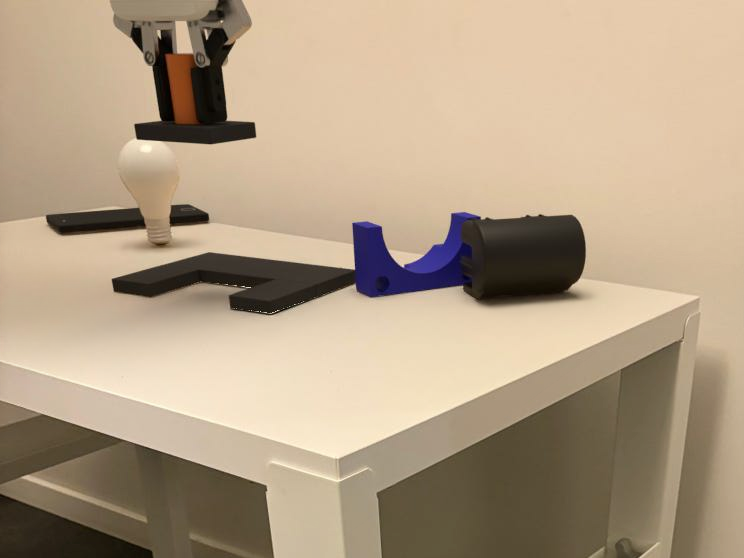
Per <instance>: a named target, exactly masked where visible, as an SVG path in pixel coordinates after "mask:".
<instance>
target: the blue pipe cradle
mask: <svg viewBox="0 0 744 558" xmlns="http://www.w3.org/2000/svg"><path fill="white" fill-rule="evenodd" d="M473 218H475V219H477V220H480V219H482V217H481V216H480V215H477V214H473V213H470V212H466V211H459V212H451V214H450V222H449V223H450V224H449V229H448V232H447V235H446V237H445V238H446V239H445V240H444V242H443V243H437V244H433V245H432V246H431V247H430V249H429V250H428V251H427V252H426V253H425V254H424V255H423V256H421V257H420V258H418V259H416V260H414V261H412V262H408V263H405V264H403V266H402V265H400V264H399V263H398V262H397V261H396V260H395V259H394V257H393V256H392V254H391V253H390V252H389V250H388V247H387V244H386V241H385V239H384V234H383V233H384V232H383V226H382V225H379V224H375V223H373V222H370V221H368V220H366V221H356V222H352V225H351V227H352V243H353V261H354V270H355V279H356V283H355V291H356V290H357V291H356V292H358V291H359V292H358V293H360V292H361V293H360V294H362V293H363V294H362V295H364V294H365V296H367V297H369V296H370V297H369V298H373V297H372V296H376V297H380V296H379V295H384V296H389V295H388V294H391V295H397V294H396V293H398V294H404V293H403V292H406V293H413V292H421V291H428V290H434V289H443V288H450V287H456V286H463V283H464V282H472V278H470V277H468V276H467V275H465V274H464V273H463V272H462V269H461V263H460V260H461V256H464V255H465V256H467V257H469V258H471V259H472V248H471V246H470V245H468V244H466V243H464V242H462V241H461V237H460V234H461V226H462V224H463V222H465V221H467V220H472V219H473Z"/></svg>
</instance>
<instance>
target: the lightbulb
mask: <svg viewBox="0 0 744 558" xmlns="http://www.w3.org/2000/svg"><path fill="white" fill-rule="evenodd" d="M117 171H118V175H119V178H120V180H121V182H122V184H123V185H124V187H125V188H126V190H127V191H128V192H129V194H130V195H131V196H132V197H133V199H134V200H135V202H136V204H137V208H139V210H140V212H141V214H142V216H143V217H144V221H145V224H146V226H145V229H146V233H147V234H146V236H147V241H148V242H149V243H151V244H152V245H155V246H156V247H165V246H167V245H168V244H169V243H170V242H171V241H172V240H173V236H172V230H171V229H172V228H171V224H170V223H169V222H170V219H169V216H170V212H171V205H172V200H173V197H174V194H175V192H176V190H177V188H178V186H179V182H180V176H181V169H180V165H179V161H178V159H177V157H176V155H175V153H174V151H173V150H172V148H171V147H169V145H168V144H166V143H165V142H164V141H148V140H137V139H136V137H134V138H131V139H129V140H128V141H127V142H126V143H124V145H123V146H122V148H121V149H120V151H119V154H118V157H117Z"/></svg>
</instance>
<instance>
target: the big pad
mask: <svg viewBox="0 0 744 558" xmlns="http://www.w3.org/2000/svg"><path fill="white" fill-rule="evenodd" d="M200 281H202V282H200ZM197 282H199V283H205V282H210V283H209V284H213V283H219V284H218V285H220V284H228V285H237V286H245V287H251V288H244V289H243V290H239V291H237V292H233V293H230V294H229V295H228V302H229V303H228V304H229V308H230V309H231V308H235V309H234V310H236V308H237V309H243V310H250V311H251V310H252V311H259V312H260V311H261V312H267V313H272V312H275V311H277V310H281V309H283V308H287V307H289V306H292V305H294V304H298V303H301V302H303V301H306V302H308V301H307V300H309V299H311V298H314V297H316V298H318V297H317V296H319V297H322V296H324V295H323V294H325V295H327V294H329V293H328V292H330V293H332V292H331V291H333V292H335V291H338V290H340V289H339V288H341V289H343V288H346V287H349V286H351V285H353V283H354V284H356V279H355V268H345V267H337V266H328V265H320V264H312V263H311V264H310V263H304V262H303V263H302V262H296V261H287V260H278V259H270V258H262V257H253V256H244V255H237V254H236V255H235V254H228V253H219V252H212V251H208V252H204V253H201V254H197V255H193V256H190V257H186V258H183V259H178V260H175V261H171V262H168V263H164V264H160V265H157V266H152V267H149V268H146V269H142V270H137V271H135V272H130V273H128V274H124V275H121V276H117V277H112V278H111V284H112V291H113V293H118V294H126V295H133V296H138V297H145V298H154V297H156V296H160V295H163V294H166V293H169V291H170V292H172V290H173V291H176V290H179V289H183V288H186V287H189V286H192V285H191V284H193V285H195V284H194V283H196V284H198V283H197ZM350 284H351V285H350ZM188 285H189V286H188ZM228 285H227V286H228ZM348 285H349V286H348ZM185 286H186V287H185ZM345 286H346V287H345ZM182 287H183V288H182ZM342 287H343V288H342ZM175 289H176V290H175ZM337 289H338V290H337ZM334 290H335V291H334ZM326 293H327V294H326ZM321 295H322V296H321ZM314 299H315V298H314ZM311 300H312V299H311ZM309 301H310V300H309ZM303 303H304V302H303ZM301 304H302V303H301ZM298 305H299V304H298ZM287 309H288V308H287ZM243 310H242V311H243ZM250 311H249V312H250Z"/></svg>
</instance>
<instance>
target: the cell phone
mask: <svg viewBox="0 0 744 558" xmlns="http://www.w3.org/2000/svg"><path fill="white" fill-rule="evenodd" d="M169 219H170V222H169V223H170V225H179V224H190V223H203V222H204V223H205V222H209V221H210V215H209V212H206V211H204V210H203V209H200V208H198V207H196V206H194V205H191V204H187V203H186V204H185V203H183V204H171V212H170V216H169ZM45 220H46V223H47V224H48V225H49V226H50V227H51V228H53V229H54V230H55V231H56V232H58V233H59V234H73V233H83V232H93V231H94V232H95V231H108V230H119V229H130V228H131V229H132V228H142V227H146V224H145V221H144V217H143V216H142V214H141V212H140V210H139V207H129V208H117V209H104V210H103V209H102V210H90V211H75V212H65V213H64V212H63V213H61V212H60V213H51V214H46V215H45Z"/></svg>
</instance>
